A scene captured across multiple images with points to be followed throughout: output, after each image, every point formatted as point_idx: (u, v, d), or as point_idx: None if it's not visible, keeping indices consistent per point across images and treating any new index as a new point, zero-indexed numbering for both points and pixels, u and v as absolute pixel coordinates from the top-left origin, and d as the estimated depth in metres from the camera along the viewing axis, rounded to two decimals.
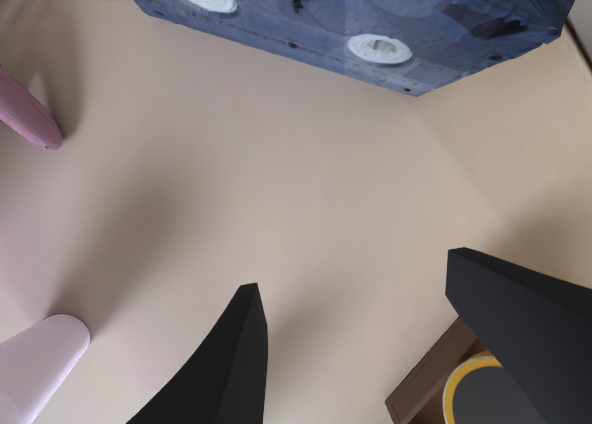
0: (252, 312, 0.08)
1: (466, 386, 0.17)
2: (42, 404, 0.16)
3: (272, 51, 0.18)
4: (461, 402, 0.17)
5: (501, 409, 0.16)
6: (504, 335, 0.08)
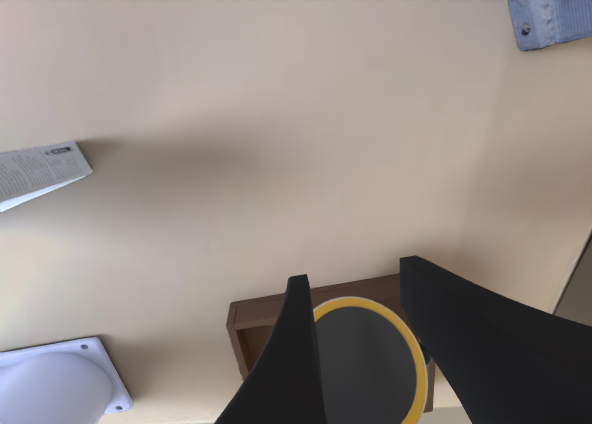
0: (311, 302, 0.08)
1: (341, 315, 0.15)
2: None
3: None
4: (325, 324, 0.14)
5: (357, 351, 0.14)
6: (444, 346, 0.08)
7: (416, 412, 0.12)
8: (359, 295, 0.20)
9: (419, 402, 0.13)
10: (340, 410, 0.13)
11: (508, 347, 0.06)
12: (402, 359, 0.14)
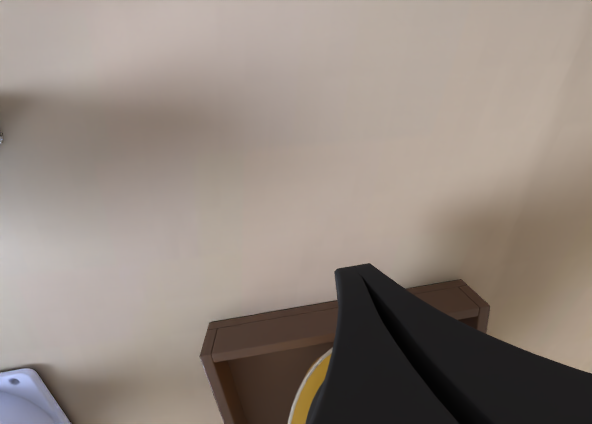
0: None
1: None
2: None
3: None
4: None
5: None
6: None
7: None
8: None
9: None
10: None
11: (424, 363, 0.05)
12: None
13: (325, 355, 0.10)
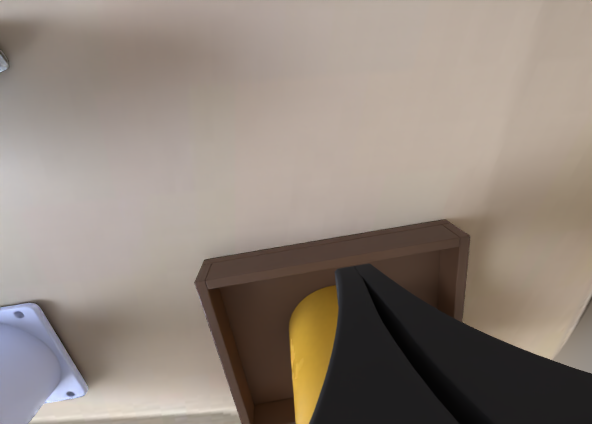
0: None
1: None
2: None
3: None
4: None
5: None
6: None
7: None
8: (367, 246, 0.16)
9: None
10: None
11: (424, 362, 0.05)
12: None
13: None
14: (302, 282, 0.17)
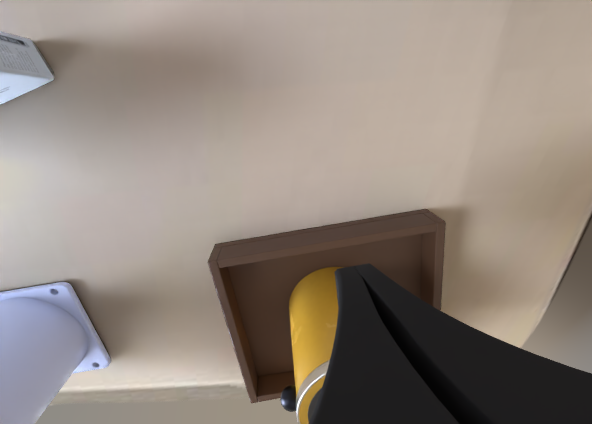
0: None
1: None
2: None
3: None
4: None
5: None
6: None
7: None
8: (356, 231, 0.18)
9: None
10: None
11: (424, 363, 0.05)
12: None
13: None
14: (300, 264, 0.20)
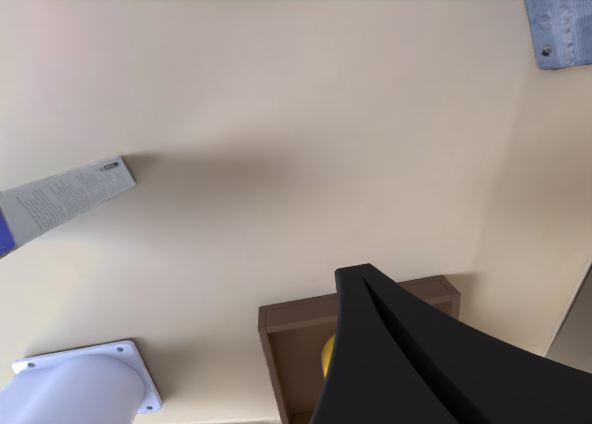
0: None
1: None
2: None
3: None
4: None
5: None
6: None
7: None
8: None
9: None
10: None
11: (424, 362, 0.05)
12: None
13: None
14: (333, 323, 0.23)
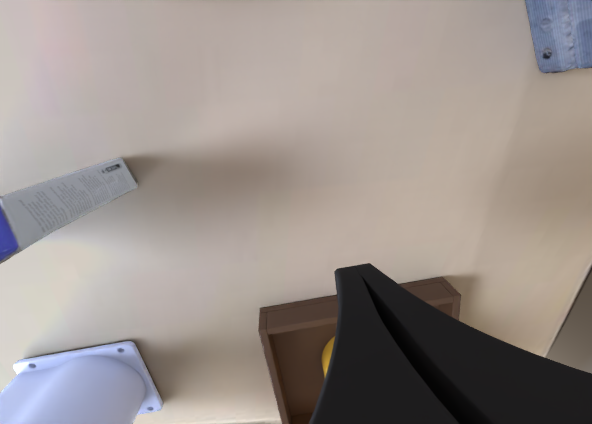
0: None
1: None
2: None
3: None
4: None
5: None
6: None
7: None
8: None
9: None
10: None
11: (424, 363, 0.05)
12: None
13: None
14: (333, 324, 0.23)
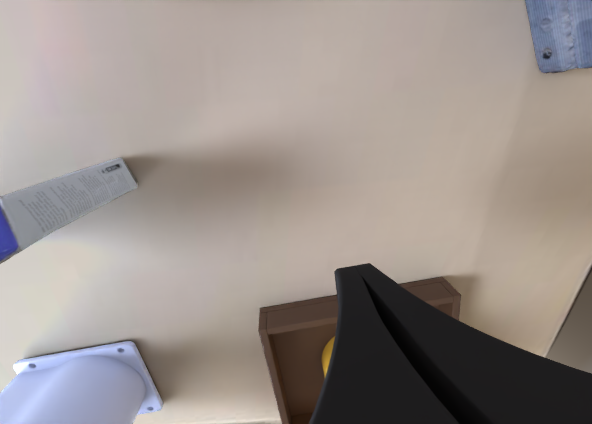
0: None
1: None
2: None
3: None
4: None
5: None
6: None
7: None
8: None
9: None
10: None
11: (424, 363, 0.05)
12: None
13: None
14: (333, 324, 0.23)
